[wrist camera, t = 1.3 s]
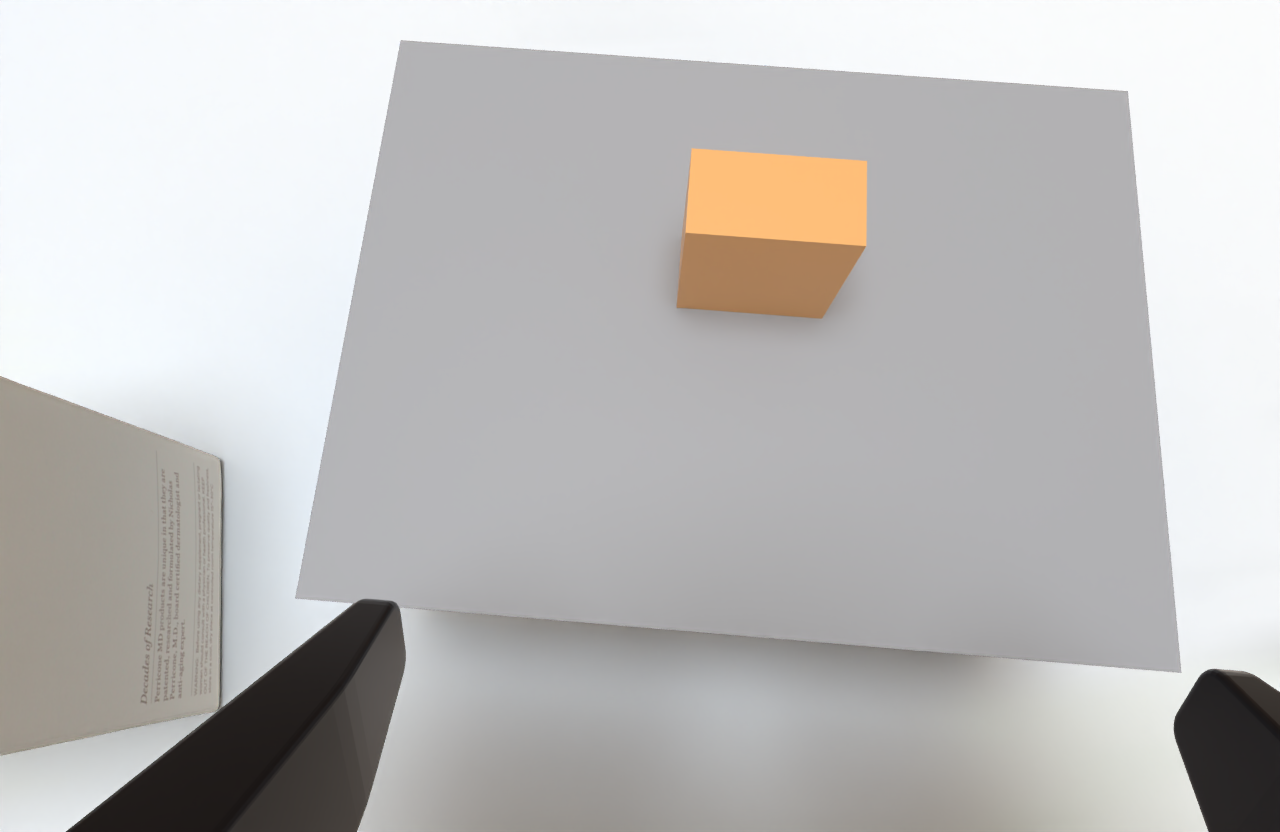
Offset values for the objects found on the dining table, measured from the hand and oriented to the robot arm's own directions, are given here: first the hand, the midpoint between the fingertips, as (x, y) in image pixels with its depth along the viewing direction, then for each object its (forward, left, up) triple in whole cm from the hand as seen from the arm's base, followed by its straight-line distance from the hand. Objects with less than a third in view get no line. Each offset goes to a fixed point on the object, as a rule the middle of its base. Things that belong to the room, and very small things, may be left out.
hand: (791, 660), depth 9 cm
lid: (+4, -5, -6) cm, 9 cm away
